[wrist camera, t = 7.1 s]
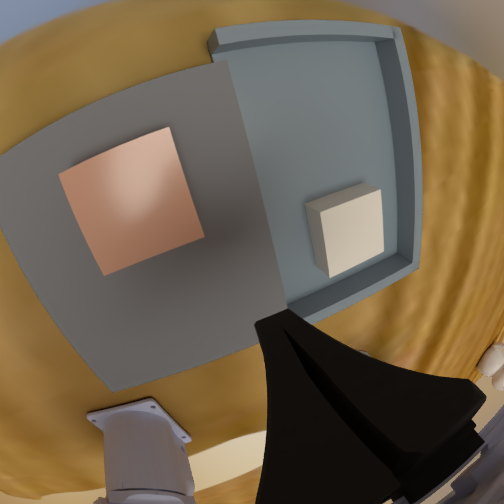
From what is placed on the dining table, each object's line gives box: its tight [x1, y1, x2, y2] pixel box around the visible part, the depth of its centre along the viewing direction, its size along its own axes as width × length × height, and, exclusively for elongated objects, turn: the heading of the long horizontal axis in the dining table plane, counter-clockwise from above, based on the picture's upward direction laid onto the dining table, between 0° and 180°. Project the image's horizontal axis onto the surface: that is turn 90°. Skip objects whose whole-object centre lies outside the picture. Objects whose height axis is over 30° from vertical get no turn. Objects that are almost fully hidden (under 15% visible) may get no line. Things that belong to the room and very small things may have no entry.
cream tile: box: [305, 183, 384, 278], centre depth 19 cm, size 5×5×2 cm
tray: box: [207, 20, 423, 325], centre depth 18 cm, size 20×13×2 cm, turn 14°
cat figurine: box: [478, 342, 504, 390], centre depth 51 cm, size 9×12×15 cm
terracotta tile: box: [58, 127, 205, 276], centre depth 12 cm, size 5×5×2 cm
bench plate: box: [0, 60, 288, 393], centre depth 15 cm, size 17×14×3 cm
